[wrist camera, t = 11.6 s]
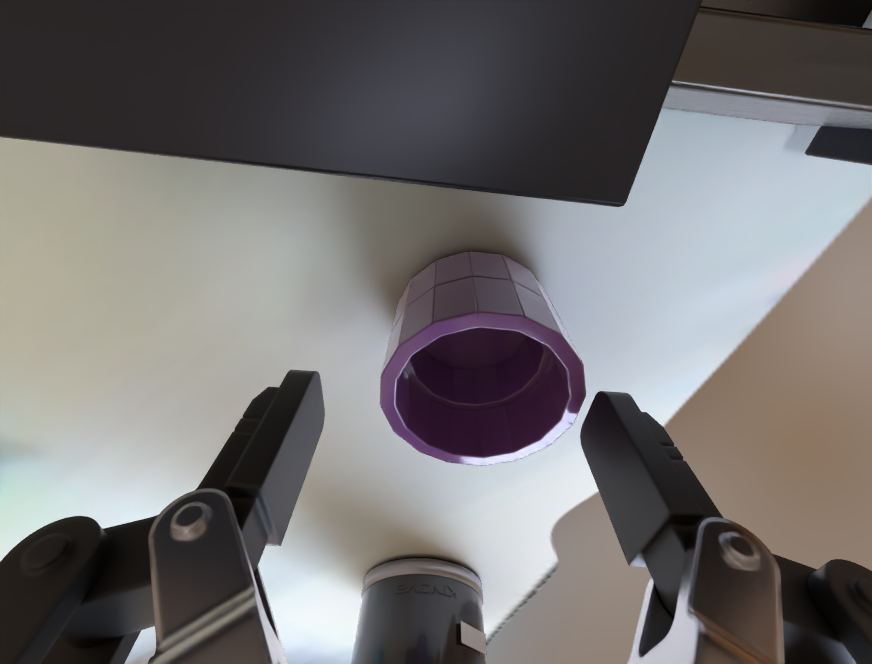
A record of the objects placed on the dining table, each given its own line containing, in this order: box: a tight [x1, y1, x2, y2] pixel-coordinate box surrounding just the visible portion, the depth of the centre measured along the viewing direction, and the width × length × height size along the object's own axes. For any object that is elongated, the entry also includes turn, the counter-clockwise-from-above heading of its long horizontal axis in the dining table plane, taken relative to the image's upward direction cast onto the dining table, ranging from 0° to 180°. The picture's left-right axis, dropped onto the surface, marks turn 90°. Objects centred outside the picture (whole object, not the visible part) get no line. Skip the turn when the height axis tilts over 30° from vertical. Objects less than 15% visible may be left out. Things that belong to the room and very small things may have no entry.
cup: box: [380, 251, 586, 466], centre depth 13 cm, size 6×6×5 cm
